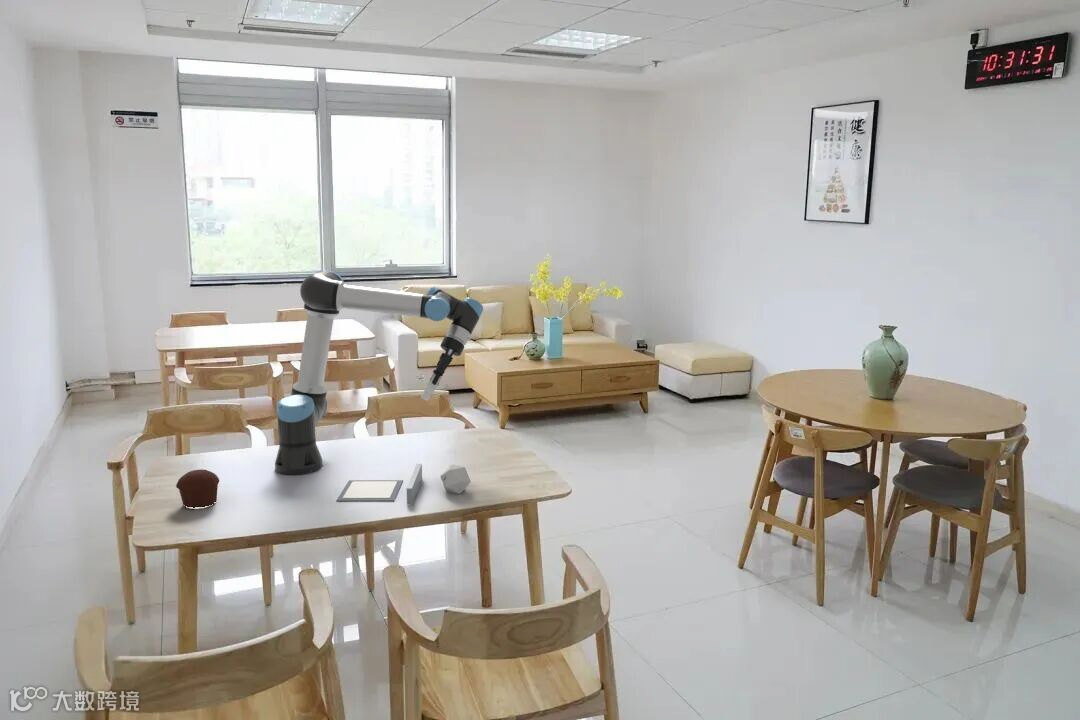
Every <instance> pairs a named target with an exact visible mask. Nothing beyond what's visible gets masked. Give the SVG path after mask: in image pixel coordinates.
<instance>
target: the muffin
mask: <svg viewBox="0 0 1080 720" xmlns="http://www.w3.org/2000/svg"><path fill="white" fill-rule="evenodd" d="M219 482H220V478H219V476H217V474H216V473H214V472H213V471H210V470H207V469H202V468H201V469H195V470H190V471H188V472H187V473H185V474H183V475H182V476H180V478H179V479H178V480H177V483H176V485H175V488H177V489H178V490H179V495H180V498H181V501H182V505H183V504H184V505H185V506H187V507H193V508H195V507H205V506H209V505H212V504H214V502H216V501H217V498H218V486H219ZM216 503H217V502H216ZM214 505H215V504H214Z"/></svg>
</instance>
